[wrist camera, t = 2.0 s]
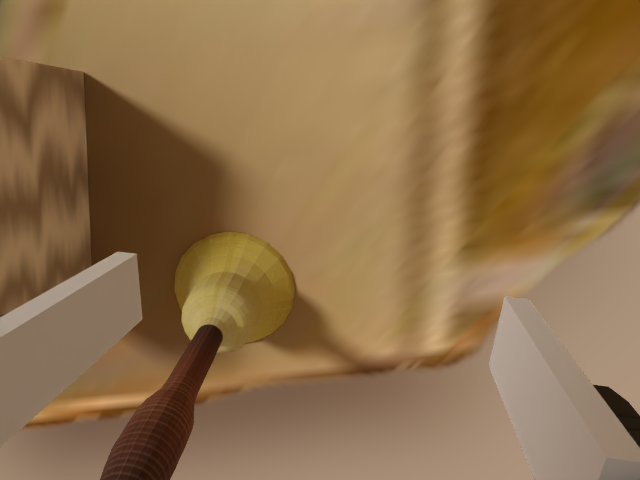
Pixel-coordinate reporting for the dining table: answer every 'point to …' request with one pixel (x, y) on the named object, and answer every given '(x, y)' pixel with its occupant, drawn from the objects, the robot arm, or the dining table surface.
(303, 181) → the dining table surface
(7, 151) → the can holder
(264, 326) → the handbell
